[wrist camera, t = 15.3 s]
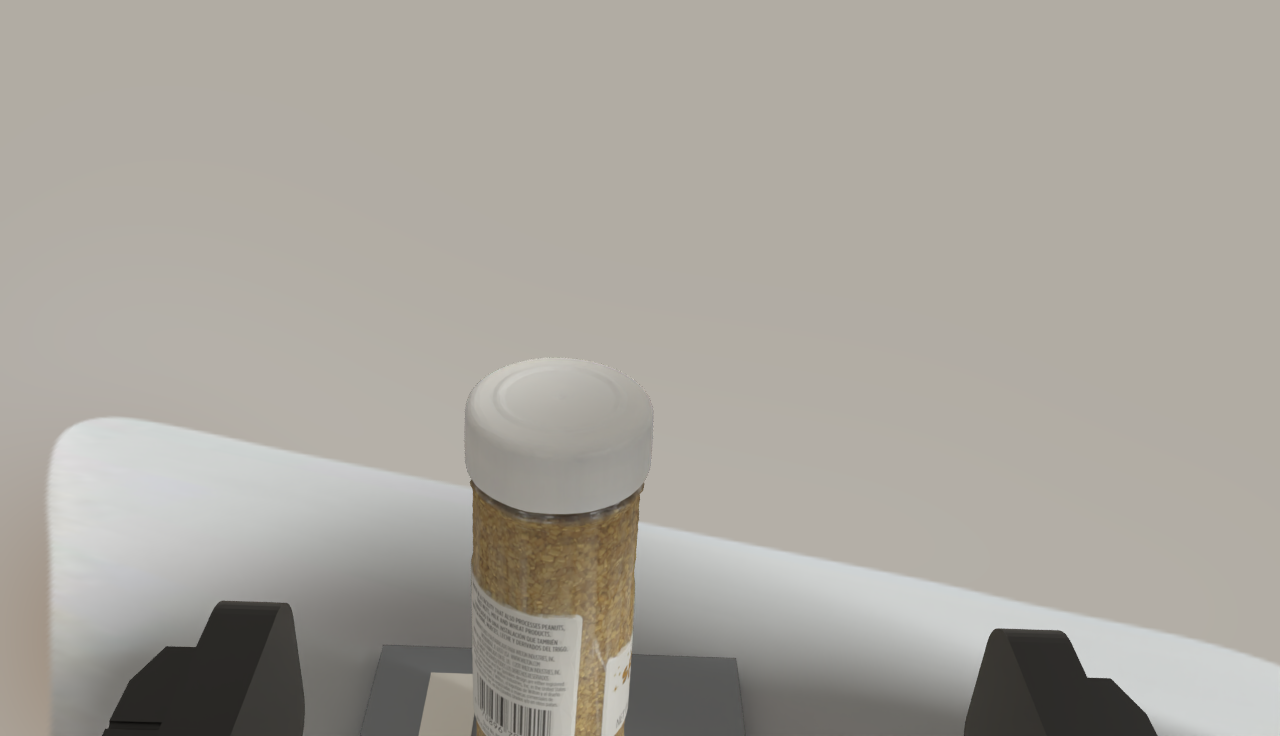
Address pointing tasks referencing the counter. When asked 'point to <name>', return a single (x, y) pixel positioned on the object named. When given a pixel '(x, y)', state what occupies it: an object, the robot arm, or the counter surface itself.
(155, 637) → the counter surface
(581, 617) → the spice jar
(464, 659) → the letter mat
